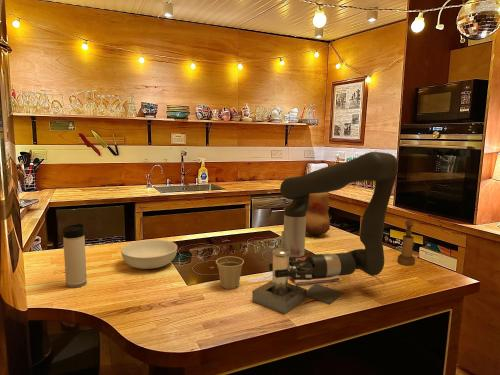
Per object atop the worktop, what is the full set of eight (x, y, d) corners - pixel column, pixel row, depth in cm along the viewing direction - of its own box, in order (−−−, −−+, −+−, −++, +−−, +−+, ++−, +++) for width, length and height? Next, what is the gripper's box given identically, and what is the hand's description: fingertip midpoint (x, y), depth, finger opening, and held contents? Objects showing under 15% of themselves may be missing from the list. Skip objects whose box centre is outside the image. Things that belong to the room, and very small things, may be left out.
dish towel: (312, 260, 149) (312, 254, 149) (341, 283, 127) (341, 276, 127) (273, 263, 145) (274, 257, 145) (296, 288, 123) (296, 280, 122)
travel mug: (91, 281, 123) (88, 224, 120) (76, 289, 117) (73, 229, 114) (77, 278, 125) (74, 222, 122) (61, 286, 119) (58, 227, 116)
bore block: (252, 301, 111) (252, 290, 111) (274, 288, 120) (275, 278, 120) (284, 314, 104) (285, 302, 103) (306, 299, 113) (306, 289, 112)
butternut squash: (301, 238, 179) (303, 188, 175) (302, 231, 192) (304, 184, 188) (329, 240, 177) (332, 189, 173) (328, 232, 190) (331, 185, 186)
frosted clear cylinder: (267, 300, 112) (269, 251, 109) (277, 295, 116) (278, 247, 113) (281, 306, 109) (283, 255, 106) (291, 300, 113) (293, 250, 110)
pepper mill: (416, 266, 144) (420, 222, 141) (399, 265, 145) (402, 221, 142) (412, 260, 150) (416, 218, 147) (395, 259, 151) (399, 217, 149)
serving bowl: (109, 269, 134) (108, 251, 133) (145, 252, 153) (145, 236, 152) (155, 279, 127) (155, 260, 126) (187, 260, 146) (187, 243, 145)
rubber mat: (301, 294, 116) (301, 293, 116) (316, 285, 124) (316, 283, 124) (329, 304, 110) (329, 303, 110) (343, 293, 118) (343, 292, 118)
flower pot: (222, 293, 116) (222, 268, 115) (211, 282, 124) (211, 258, 123) (248, 288, 120) (248, 263, 119) (236, 278, 129) (236, 254, 127)
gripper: (333, 286, 108) (279, 292, 104) (312, 268, 122) (264, 273, 117) (334, 262, 107) (280, 267, 102) (313, 247, 121) (264, 251, 116)
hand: (272, 270), depth 110 cm, fingers closed on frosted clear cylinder, 4 cm apart
